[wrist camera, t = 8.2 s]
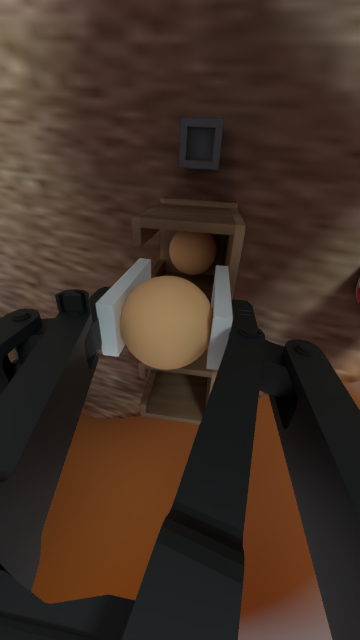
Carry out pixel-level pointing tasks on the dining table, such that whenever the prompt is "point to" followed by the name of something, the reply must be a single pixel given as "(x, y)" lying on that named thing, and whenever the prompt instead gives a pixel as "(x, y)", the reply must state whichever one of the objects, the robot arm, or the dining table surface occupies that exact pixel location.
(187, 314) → the brown ball
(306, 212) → the dining table surface
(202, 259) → the brown ball in tube
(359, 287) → the soda can
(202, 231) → the rack
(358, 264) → the dining table surface
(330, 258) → the dining table surface
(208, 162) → the rubber stand
